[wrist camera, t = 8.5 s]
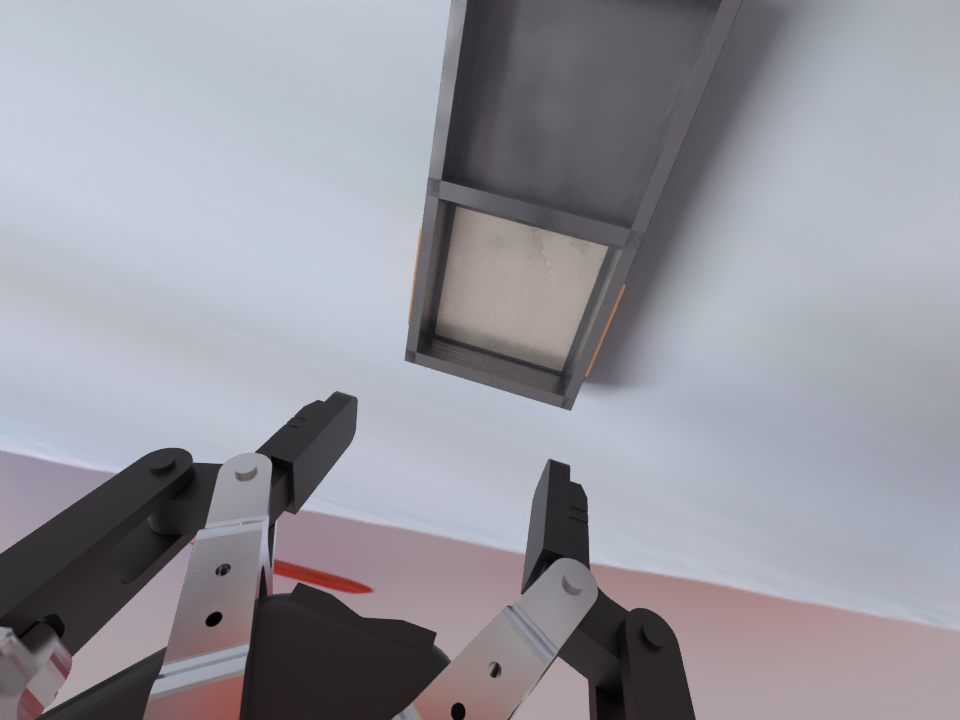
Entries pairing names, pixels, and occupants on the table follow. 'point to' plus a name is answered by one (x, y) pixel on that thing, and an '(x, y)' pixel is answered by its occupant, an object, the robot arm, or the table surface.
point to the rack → (549, 178)
